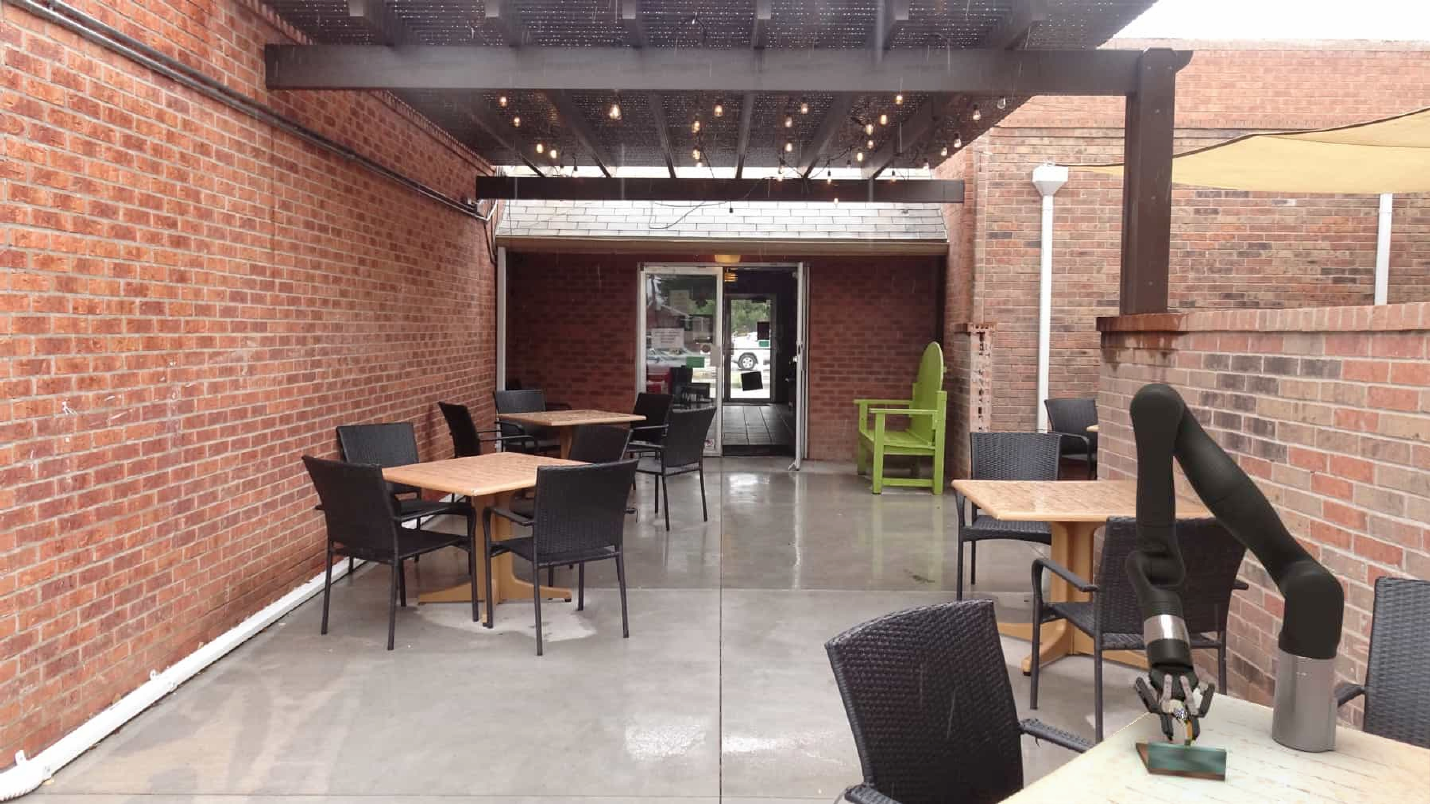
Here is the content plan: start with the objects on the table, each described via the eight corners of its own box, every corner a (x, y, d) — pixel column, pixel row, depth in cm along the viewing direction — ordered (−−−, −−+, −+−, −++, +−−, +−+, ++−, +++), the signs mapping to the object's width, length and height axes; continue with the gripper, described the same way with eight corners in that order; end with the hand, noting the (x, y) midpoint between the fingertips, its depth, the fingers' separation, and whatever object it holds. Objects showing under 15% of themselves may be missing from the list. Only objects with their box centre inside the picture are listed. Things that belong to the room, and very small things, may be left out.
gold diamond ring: (1194, 762, 166) (1197, 718, 165) (1175, 762, 166) (1179, 717, 165) (1175, 744, 173) (1179, 701, 172) (1157, 744, 173) (1161, 701, 172)
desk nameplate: (1206, 754, 172) (1208, 727, 171) (1225, 780, 162) (1226, 752, 162) (1135, 747, 174) (1136, 721, 174) (1149, 773, 164) (1150, 744, 164)
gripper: (1131, 633, 176) (1143, 725, 165) (1214, 639, 173) (1232, 733, 162) (1122, 651, 181) (1134, 741, 170) (1203, 658, 179) (1220, 749, 168)
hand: (1182, 737), depth 166 cm, fingers closed on gold diamond ring, 3 cm apart
